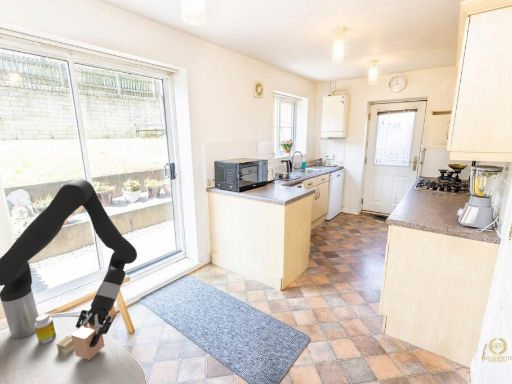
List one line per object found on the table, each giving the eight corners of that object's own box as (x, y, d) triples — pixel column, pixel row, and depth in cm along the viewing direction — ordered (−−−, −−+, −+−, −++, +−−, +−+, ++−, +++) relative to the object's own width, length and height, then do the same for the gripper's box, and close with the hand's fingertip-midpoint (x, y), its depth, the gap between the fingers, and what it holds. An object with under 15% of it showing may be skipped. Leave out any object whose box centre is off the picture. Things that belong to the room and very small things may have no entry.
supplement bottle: (56, 339, 102) (51, 317, 99) (38, 346, 98) (32, 324, 96) (56, 331, 106) (51, 310, 103) (38, 338, 102) (33, 316, 100)
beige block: (58, 352, 96) (56, 343, 95) (68, 344, 99) (66, 335, 98) (66, 355, 94) (64, 346, 93) (76, 346, 98) (74, 338, 97)
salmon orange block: (75, 355, 92) (71, 335, 90) (91, 341, 98) (87, 322, 96) (89, 359, 90) (84, 338, 88) (104, 345, 96) (100, 325, 94)
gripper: (85, 291, 99) (60, 339, 90) (114, 297, 94) (91, 348, 86) (99, 294, 105) (77, 340, 97) (127, 300, 101) (107, 349, 92)
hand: (84, 344), depth 91 cm, fingers closed on salmon orange block, 6 cm apart
